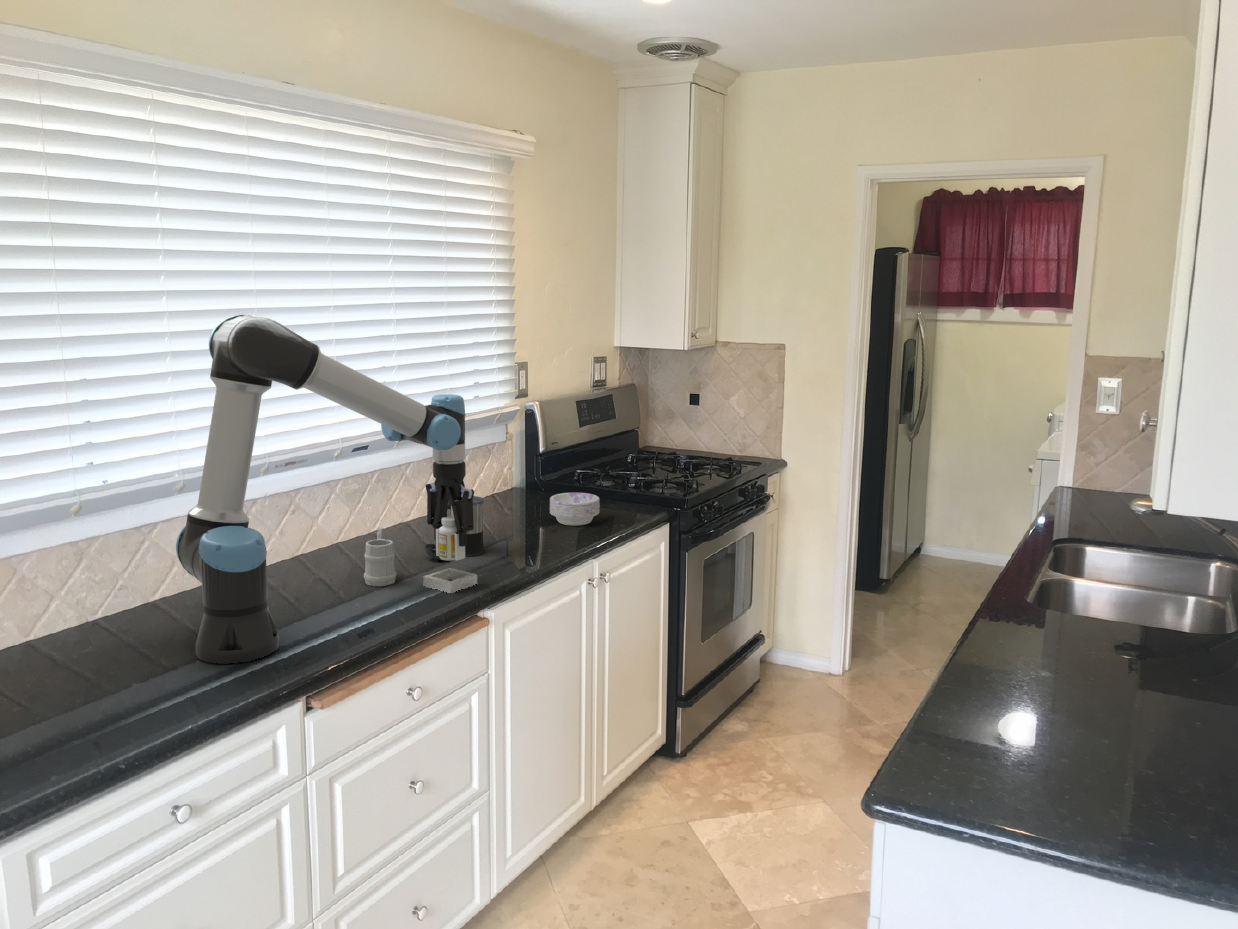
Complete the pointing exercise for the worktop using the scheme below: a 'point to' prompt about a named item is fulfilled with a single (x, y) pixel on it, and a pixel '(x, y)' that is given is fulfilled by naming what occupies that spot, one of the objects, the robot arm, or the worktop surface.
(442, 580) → the square picture frame
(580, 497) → the paper bowls
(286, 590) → the worktop surface
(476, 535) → the milk frother
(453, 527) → the supplement bottle
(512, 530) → the worktop surface
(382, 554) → the mug
